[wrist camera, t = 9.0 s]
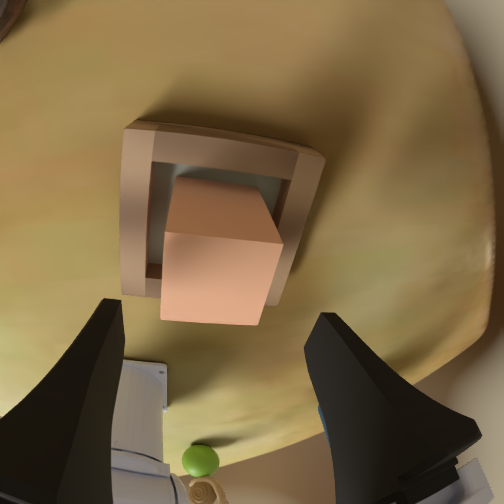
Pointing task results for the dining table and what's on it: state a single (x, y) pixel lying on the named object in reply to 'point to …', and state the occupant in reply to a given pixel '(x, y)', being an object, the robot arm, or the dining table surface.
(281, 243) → the terracotta block
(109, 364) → the robot arm
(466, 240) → the dining table surface
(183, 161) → the walnut base
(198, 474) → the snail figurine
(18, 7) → the dark looped band sculpture
